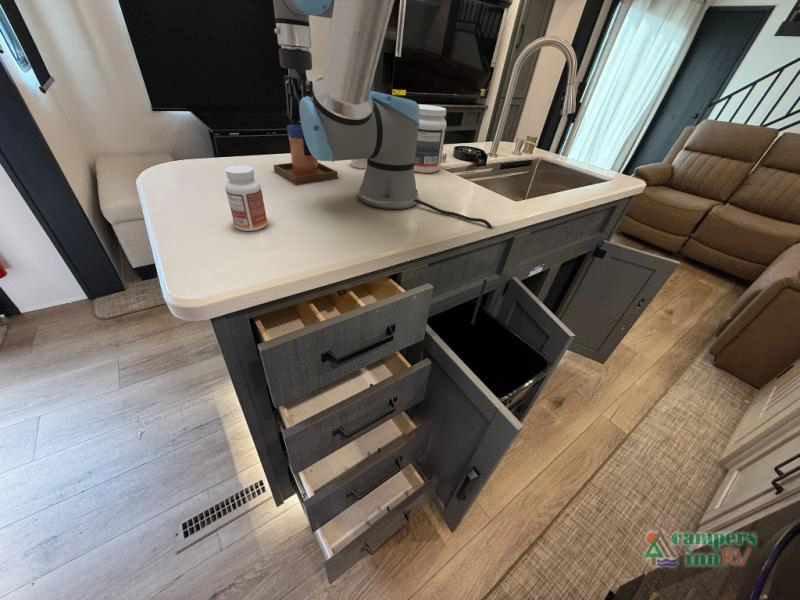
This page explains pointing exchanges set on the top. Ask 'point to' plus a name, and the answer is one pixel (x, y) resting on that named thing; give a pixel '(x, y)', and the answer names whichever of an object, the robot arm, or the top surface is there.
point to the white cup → (359, 163)
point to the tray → (323, 174)
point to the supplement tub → (430, 138)
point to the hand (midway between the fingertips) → (304, 151)
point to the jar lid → (295, 130)
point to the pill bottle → (245, 198)
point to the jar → (301, 158)
